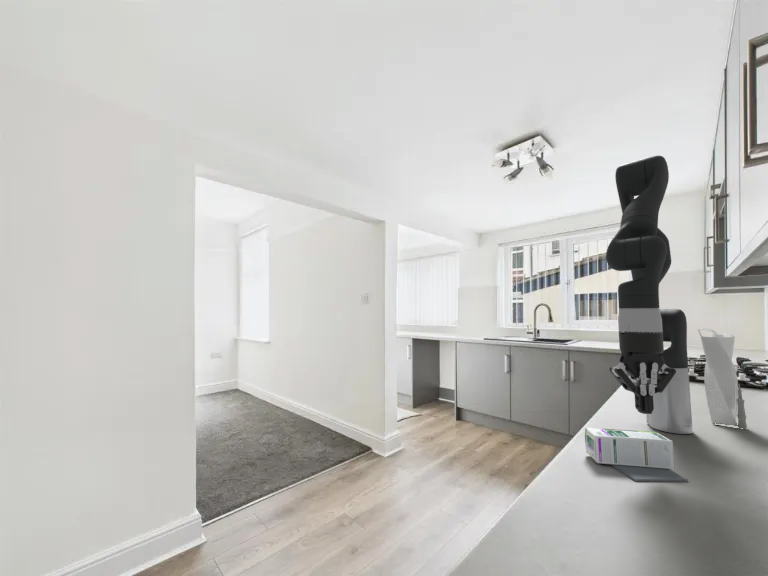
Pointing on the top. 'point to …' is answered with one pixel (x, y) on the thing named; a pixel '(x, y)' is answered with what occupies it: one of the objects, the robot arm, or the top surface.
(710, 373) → the skyscraper
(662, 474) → the mat
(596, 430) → the syrup box
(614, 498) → the top surface
